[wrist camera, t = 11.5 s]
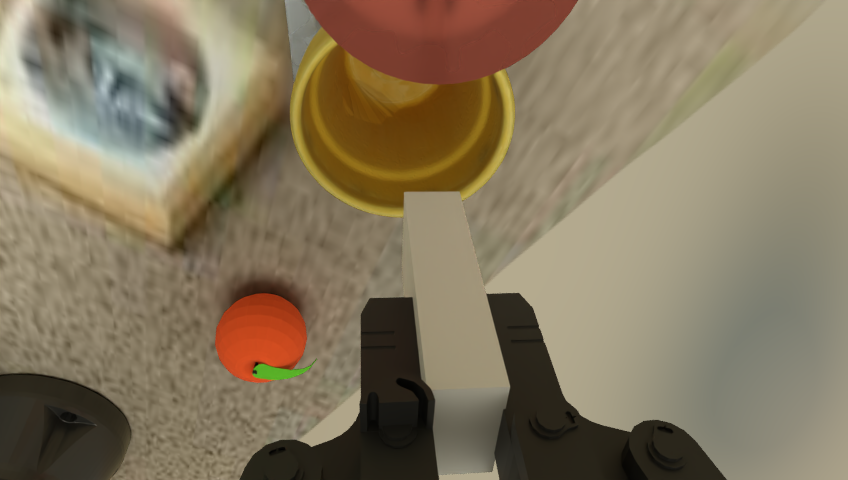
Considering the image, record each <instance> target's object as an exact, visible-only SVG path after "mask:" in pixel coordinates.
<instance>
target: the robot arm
mask: <svg viewBox="0 0 848 480" xmlns="http://www.w3.org/2000/svg"><path fill="white" fill-rule="evenodd" d="M402 278H403V289H404V297H399V298H370V299H369V301H368V302H367V304H366V306H365V308H364V310H363V311H362V313H361V400H360V413H359V414H358V417H357V419H356V421H355V422H354V423H353V425H352V426H351V427H350V428H349V429H348V430H347V431H346V432H344V433H343V434H342V435H340V436H338V437H336V438H334V439H332V440H330V441H327V442H324V443H322V444H319V445H316V446H313V447H310V446H309V445H308V444H306V443H303V442H300V441H297V440H279V441H276V442H274V443H271V444H268V445H266V446H264V447H263V448H262V449H260V450H259V451H258V452H256V453H255V454H254V455H253V456H252V458H251V459H250V461H249V462H248V464H247V465H246V467H245V469H244V471H243V473H242V476H241V478H240V480H439V476H438V475H447V474H465V473H481V472H492V471H493V466H494V461H495V460H496V464H497V469H498V474H499V480H726V478H725V477H724V476H723V475H722V473H721V472H720V471H719V470H718V468H717V467H716V466H715V465H714V463H713V462H712V461H711V460H710V458H709V457H708V456H707V455H706V453H705V452H704V451H703V450H702V448H701V447H700V446H699V445H698V443H697V442H696V441H695V440H694V439H693V438H692V437H691V436H690V435H689V434H687V433H686V432H685V431H684V430H682V429H680V428H679V427H677V426H675V425H673V424H671V423H668V422H663V421H659V420H650V421H643V422H641V423H640V424H638V425H636V426H634V428H633V430H632V432H627V431H623V430H619V429H615V428H611V427H607V426H603V425H600V424H597V423H594V422H591V421H589V420H587V419H586V418H584V417H582V416H581V415H580V414H579V413H578V411H577V410H576V409H575V408H574V407H573V406H571V404H569V403H568V402H567V401H566V400H565V398H564V396H563V394H562V391H561V388H560V385H559V382H558V379H557V377H556V374H555V371H554V368H553V365H552V362H551V360H550V356H549V354H548V351H547V348H546V345H545V343H544V341H543V336H542V333H541V331H540V329H539V325H538V322H537V319H536V316H535V313H534V310H533V308H532V307H531V306H530V305H529V303H528V302H527V301H526V300H525V299H524V298H523V297H522V296H521V295H520V294H519V293H503V294H486V292H485V288H484V284H483V280H482V276H481V272H480V268H479V265H478V261H477V257H476V253H475V249H474V245H473V241H472V238H471V234H470V230H469V226H468V222H467V218H466V215H465V211H464V207H463V203H462V199H461V195H460V191H459V192H404V213H403V246H402ZM130 438H131V432H130V428H129V425H128V422H127V420H126V419H125V417H124V416H123V415H122V413H121V412H120V411H119V410H118V409H117V408H116V407H115V406H114V405H113V404H111V403H110V402H109V401H107V400H106V399H105V398H103V397H101V396H100V395H98V394H96V393H94V392H92V391H90V390H88V389H86V388H84V387H81V386H78V385H76V384H73V383H70V382H66V381H63V380H59V379H54V378H49V377H42V376H34V375H6V376H0V480H110V478H111V477H112V476H113V475H114V474H115V473H116V472H117V470H118V469H119V467H120V465H121V464H122V462H123V459H124V457H125V454H126V451H127V448H128V446H129V443H130Z"/></svg>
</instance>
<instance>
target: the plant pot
mask: <svg viewBox="0 0 848 480" xmlns="http://www.w3.org/2000/svg"><path fill="white" fill-rule="evenodd" d="M514 121H515V104H514V96H513V91H512V87H511V83H510V80H509V77H508V75H507V72H506V70H505V69H503V70H501V71H499V72H496V73H494V74H492V75H489V76H486V77H483V78H480V79H476V80H472V81H467V82H462V83H455V84H441V85H438V84H421V83H416V82H410V81H405V80H401V79H398V78H395V77H392V76H389V75H386V74H384V73H382V72H379V71H377V70H375V69H373V68H371V67H369V66H367V65H366V64H364V63H363V62H361V61H359V60H358V59H356V58H355V57H353V56H352V55H351V54H349V53H348V52H347V51H346V50H345V49H343V48H342V47H341V46H340V45H338V44H337V43H336V42H335V41H334V40H333V38H332V37H331V36H330V35H329V34H328V33H327V32H326V31H325V30H324V29H323V28H322V27H321V28H320V30H319V31H318V32H317V34H316V35H315V36H314V38H313V39H312V41H311V42H310V44H309V46H308V48H307V50H306V52H305V54H304V56H303V58H302V61H301V63H300V66H299V69H298V72H297V75H296V78H295V82H294V85H293V90H292V95H291V102H290V124H291V131H292V136H293V140H294V143H295V146H296V149H297V152H298V154H299V156H300V158H301V160H302V162H303V163H304V165H305V167H306V168H307V170H308V171H309V173H310V174H311V175H312V176H313V177H314V179H315V180H316V181H317V182H318V183H319V184H320V185H321V186H322V187H323V188H324V189H325V190H326V191H328V192H329V193H330V194H332V195H333V196H334V197H336V198H337V199H339V200H341V201H342V202H344V203H346V204H348V205H350V206H352V207H354V208H356V209H359V210H362V211H365V212H367V213H372V214H376V215H381V216H387V217H401V218H402V217H403V213H404V192H459V191H460V195H461V199H462V201H463V200H465V199H467V198H468V197H470V196H471V195H472V194H474V193H475V192H476V191H477V190H479V189H480V188H481V187H482V186H483V185H484V184H485V183H486V182H487V181H488V180H489V179H490V178H491V177H492V175H493V174H494V173H495V172H496V170H497V169H498V167H499V166H500V164H501V162H502V161H503V159H504V157H505V155H506V153H507V150H508V148H509V145H510V142H511V139H512V135H513V130H514Z"/></svg>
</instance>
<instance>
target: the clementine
mask: <svg viewBox="0 0 848 480" xmlns="http://www.w3.org/2000/svg"><path fill="white" fill-rule="evenodd" d="M306 340H307V334H306V326H305V322H304V320H303V318H302V316H301V314H300V313H299V311H298V309H297V308H296V307H295V306H294V305H293V304H292V303H290V302H289V301H287V300H286V299H284V298H282V297H280V296H277V295H274V294H268V293H259V294H254V295H250V296H246V297H243V298H242V299H240V300H238V301H236V302H235V303H234V304H233V305H232V306H231V307H230V308H229V309H227V310H226V311H225V312H224V314H223V316H222V318H221V320H220V322H219V324H218V326H217V329H216V341H215V346H216V349H217V352H218V356H219V359H220V361H221V362H222V364H223V365H224V366H225V367H226V369H227V370H228V371H229V372H230V373H232V374H233V375H234V376H236V377H238V378H240V379H242V380H245V381H249V382H257V383H261V382H269V381H273V380H281V379H288V378H291V377H295V376H297V375H300V374H303V373H304V372H305V371H307V370H308V369H310V368H311V366H312V365H313V364H314V362H315V361H316V360H317V359H316V360H315V361H314V362H313V363H312V365H310V366H308V367H306V368H303V369H295V370H292V369H293V368H294V367H295V365H296V364H297V363H298V361H299V360H300V358H301V357H302V355H303V352H304V349H305V345H306Z"/></svg>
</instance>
